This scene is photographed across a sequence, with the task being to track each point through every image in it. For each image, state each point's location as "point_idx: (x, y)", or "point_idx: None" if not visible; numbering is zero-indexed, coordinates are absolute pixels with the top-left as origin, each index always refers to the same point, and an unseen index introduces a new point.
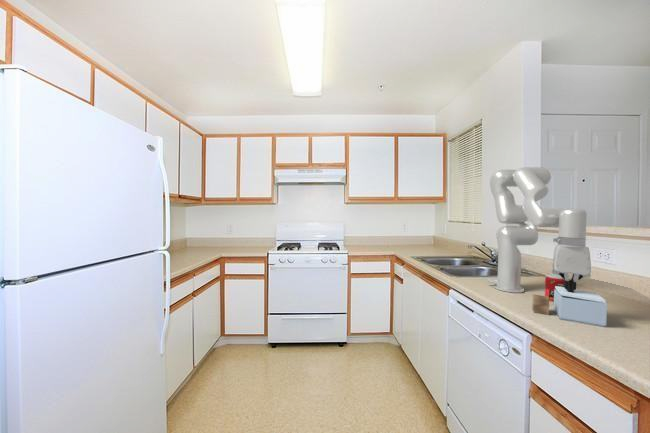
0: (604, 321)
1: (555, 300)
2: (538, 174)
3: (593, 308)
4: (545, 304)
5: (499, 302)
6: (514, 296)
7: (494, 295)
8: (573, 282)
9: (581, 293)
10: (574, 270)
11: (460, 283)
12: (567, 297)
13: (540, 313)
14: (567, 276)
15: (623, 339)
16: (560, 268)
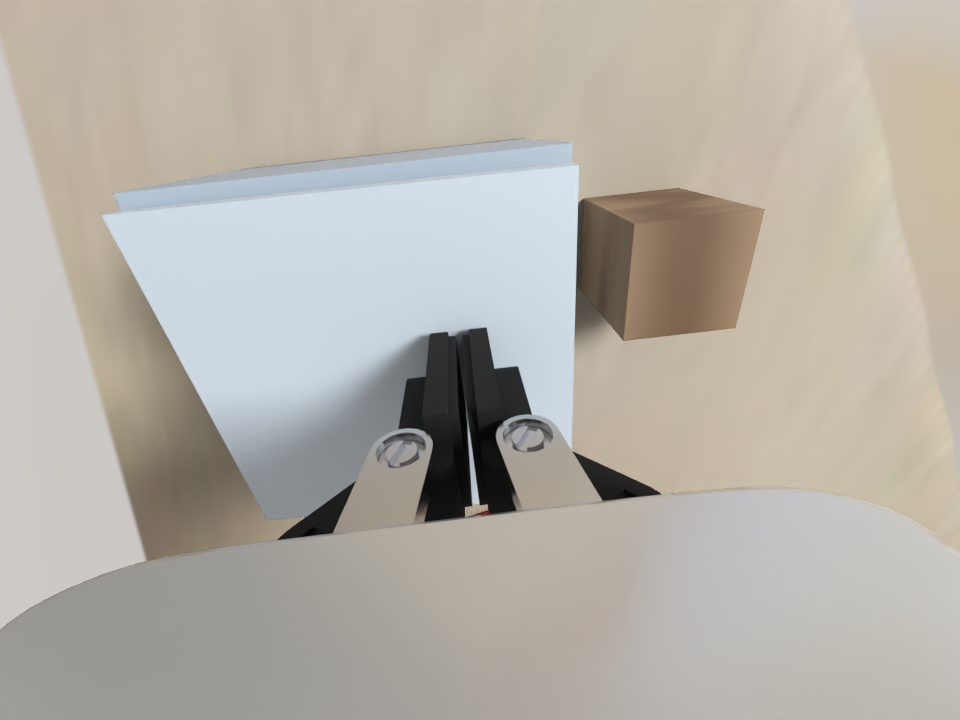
0: (238, 171)
1: None
2: None
3: (272, 172)
4: (641, 211)
5: (857, 292)
6: (704, 480)
7: (826, 429)
8: (433, 409)
9: (360, 375)
10: (402, 619)
11: (948, 535)
12: None
13: (637, 193)
14: (533, 478)
15: None
16: (861, 597)
